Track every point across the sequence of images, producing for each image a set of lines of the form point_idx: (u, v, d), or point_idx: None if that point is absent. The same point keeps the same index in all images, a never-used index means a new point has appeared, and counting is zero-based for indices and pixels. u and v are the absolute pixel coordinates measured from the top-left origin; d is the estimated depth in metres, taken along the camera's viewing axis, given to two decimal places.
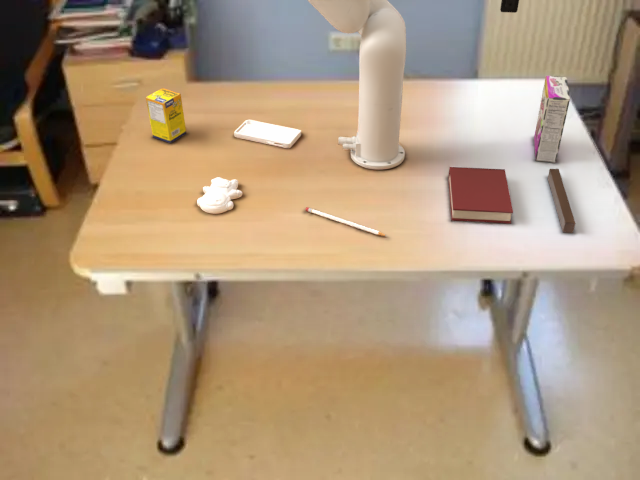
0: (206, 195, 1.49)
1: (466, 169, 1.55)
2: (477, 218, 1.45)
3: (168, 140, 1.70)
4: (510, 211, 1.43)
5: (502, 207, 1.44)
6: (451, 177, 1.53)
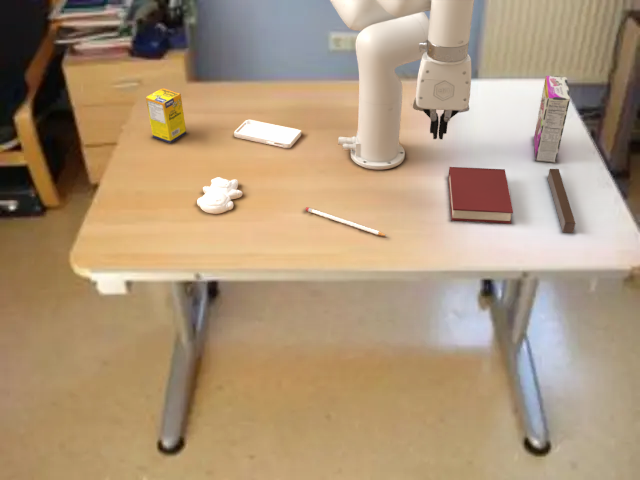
0: (206, 195, 1.49)
1: (466, 169, 1.55)
2: (477, 218, 1.45)
3: (168, 140, 1.70)
4: (510, 211, 1.43)
5: (502, 207, 1.44)
6: (451, 177, 1.53)
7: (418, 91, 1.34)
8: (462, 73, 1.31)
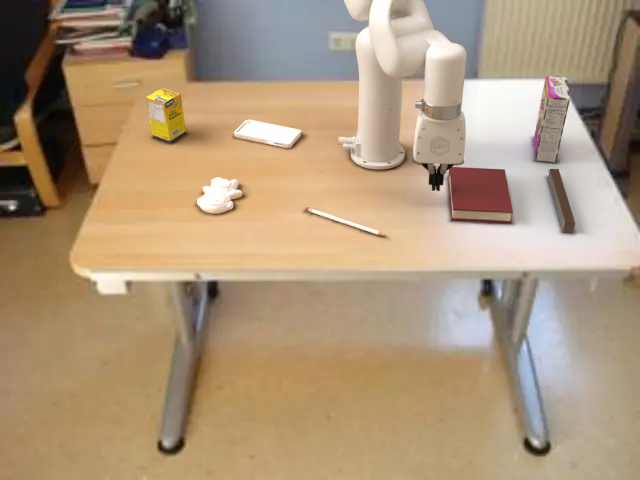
0: (206, 195, 1.49)
1: (466, 169, 1.55)
2: (477, 218, 1.45)
3: (168, 140, 1.70)
4: (510, 211, 1.43)
5: (502, 207, 1.44)
6: (451, 177, 1.53)
7: (415, 147, 1.41)
8: (456, 130, 1.38)
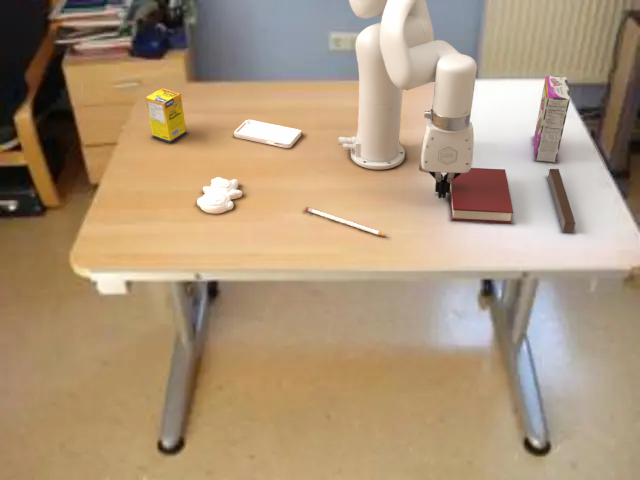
0: (206, 195, 1.49)
1: None
2: (477, 218, 1.45)
3: (168, 140, 1.70)
4: (510, 211, 1.43)
5: (502, 207, 1.44)
6: None
7: (423, 156, 1.43)
8: (465, 140, 1.40)
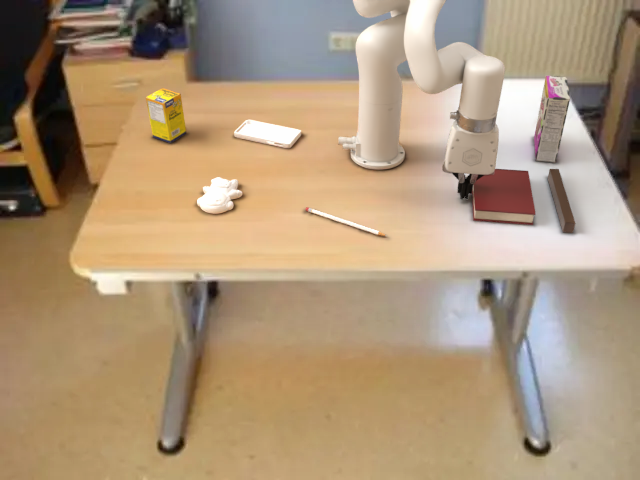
0: (206, 195, 1.49)
1: None
2: (499, 219, 1.45)
3: (168, 140, 1.70)
4: (532, 213, 1.42)
5: (524, 208, 1.43)
6: None
7: (447, 157, 1.43)
8: (490, 142, 1.39)
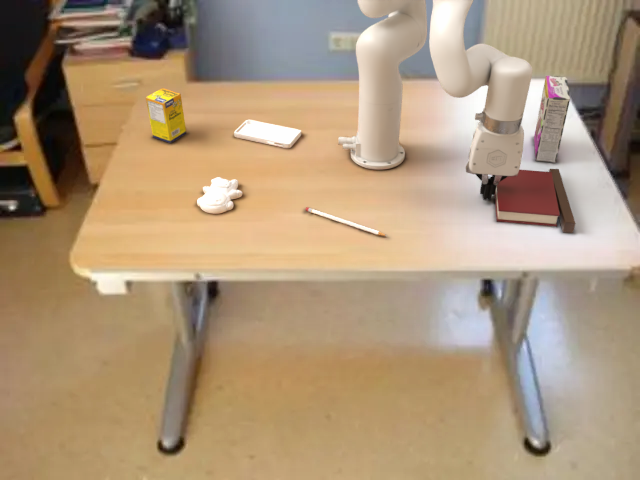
0: (206, 195, 1.49)
1: None
2: (522, 220, 1.44)
3: (168, 140, 1.70)
4: (556, 214, 1.42)
5: (548, 210, 1.43)
6: None
7: (472, 158, 1.42)
8: (515, 144, 1.39)
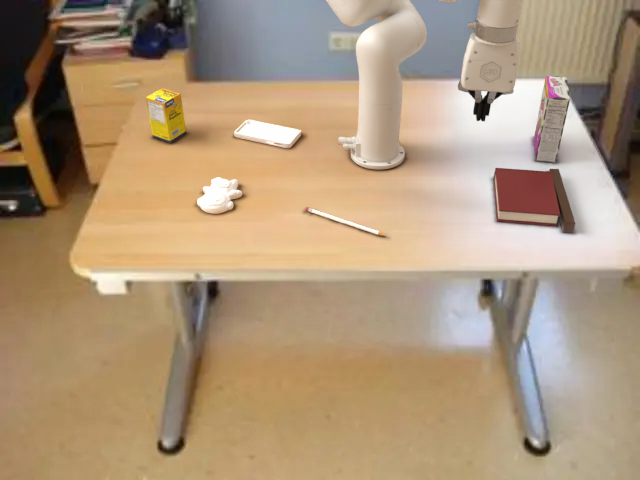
0: (206, 195, 1.49)
1: (512, 170, 1.54)
2: (523, 220, 1.44)
3: (168, 140, 1.70)
4: (557, 214, 1.42)
5: (549, 209, 1.43)
6: (497, 178, 1.52)
7: (464, 72, 1.34)
8: (510, 55, 1.31)
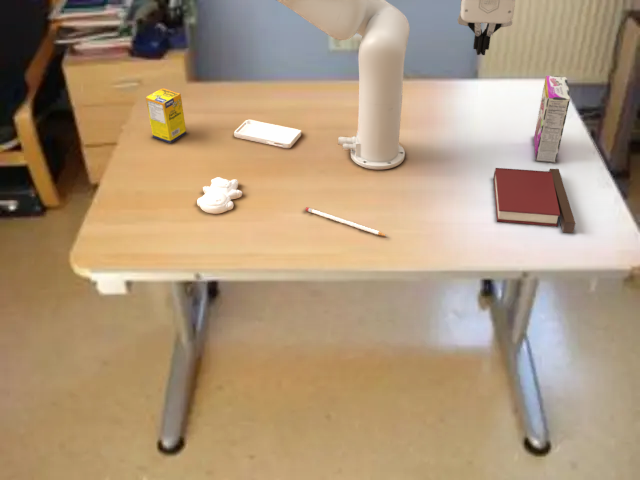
0: (206, 195, 1.49)
1: (512, 170, 1.54)
2: (523, 220, 1.44)
3: (168, 140, 1.70)
4: (557, 214, 1.42)
5: (549, 209, 1.43)
6: (497, 178, 1.52)
7: (464, 3, 1.37)
8: None
